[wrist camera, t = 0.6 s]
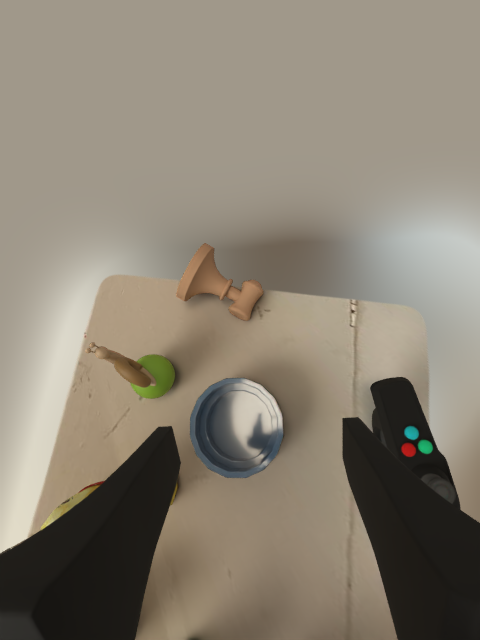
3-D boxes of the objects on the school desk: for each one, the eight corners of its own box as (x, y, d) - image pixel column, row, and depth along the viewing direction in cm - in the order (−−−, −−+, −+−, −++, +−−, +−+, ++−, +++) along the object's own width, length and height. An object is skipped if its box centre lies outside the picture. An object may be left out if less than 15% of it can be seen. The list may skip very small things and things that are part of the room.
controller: (386, 500, 33) (428, 536, 23) (352, 387, 37) (376, 379, 27) (426, 493, 32) (485, 527, 23) (388, 380, 36) (424, 369, 27)
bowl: (297, 447, 36) (299, 453, 31) (219, 483, 36) (209, 494, 31) (261, 369, 39) (258, 363, 34) (190, 401, 39) (177, 400, 34)
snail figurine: (152, 347, 42) (103, 323, 30) (188, 372, 40) (150, 357, 29) (128, 380, 41) (68, 368, 29) (164, 407, 39) (115, 406, 28)
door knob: (247, 329, 35) (277, 272, 37) (174, 288, 35) (207, 233, 36) (238, 335, 43) (263, 288, 45) (178, 302, 43) (205, 256, 44)
